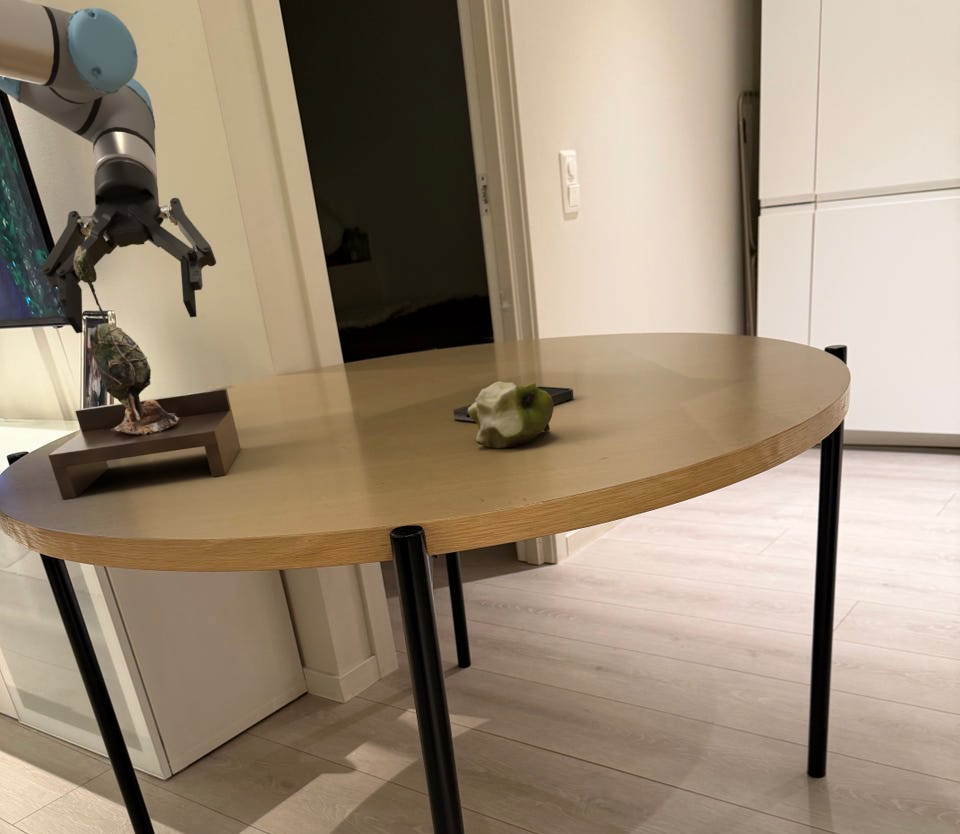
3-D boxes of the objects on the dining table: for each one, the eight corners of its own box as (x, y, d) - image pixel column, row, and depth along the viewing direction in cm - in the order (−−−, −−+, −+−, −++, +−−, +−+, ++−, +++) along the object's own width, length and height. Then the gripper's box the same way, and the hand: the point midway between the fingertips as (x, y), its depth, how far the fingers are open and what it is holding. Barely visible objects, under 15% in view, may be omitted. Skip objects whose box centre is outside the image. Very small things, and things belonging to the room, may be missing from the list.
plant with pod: (94, 445, 98) (33, 249, 90) (126, 424, 108) (74, 247, 100) (167, 435, 98) (113, 238, 89) (192, 416, 108) (145, 237, 100)
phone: (576, 388, 114) (490, 414, 106) (577, 397, 115) (491, 423, 106) (533, 386, 120) (448, 410, 111) (534, 394, 120) (450, 419, 112)
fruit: (563, 456, 94) (550, 384, 89) (476, 474, 95) (460, 403, 90) (555, 422, 101) (543, 353, 96) (475, 438, 102) (460, 371, 97)
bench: (62, 499, 98) (40, 432, 95) (96, 469, 111) (77, 409, 108) (225, 475, 99) (208, 407, 96) (240, 448, 112) (226, 388, 109)
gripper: (232, 194, 117) (245, 323, 110) (40, 219, 115) (40, 352, 108) (216, 144, 110) (229, 279, 103) (11, 171, 108) (10, 310, 101)
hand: (132, 317), depth 105 cm, fingers open, 13 cm apart
